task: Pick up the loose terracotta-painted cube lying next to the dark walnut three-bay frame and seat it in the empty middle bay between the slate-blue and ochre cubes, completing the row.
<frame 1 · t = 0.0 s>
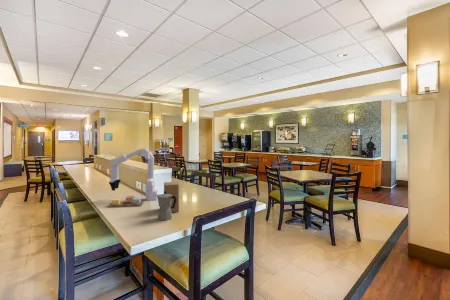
hand: (115, 189, 184), 10 cm above the table, fingers open, 7 cm apart
wooden block: (171, 210, 162), on the table
ochre cube: (116, 205, 171), point 1 cm above the table, touching frame
terracotta cube: (130, 202, 181), on the table
coffeepot: (166, 218, 146), on the table
frame: (126, 206, 172), on the table
slate cube: (136, 204, 173), point 1 cm above the table, touching frame
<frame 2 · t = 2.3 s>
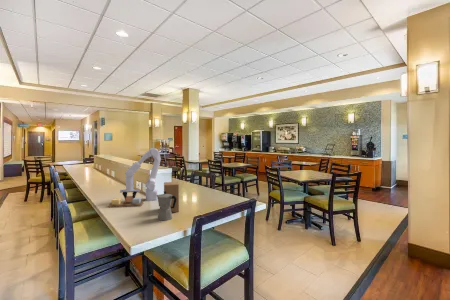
hand: (130, 201, 181), 1 cm above the table, fingers closed on terracotta cube, 5 cm apart
terracotta cube: (130, 202, 181), on the table, touching gripper
everything else where it was.
when the fingers open (3 cm above the table, at t = 6.1 s): terracotta cube stays where it is, resting on frame.
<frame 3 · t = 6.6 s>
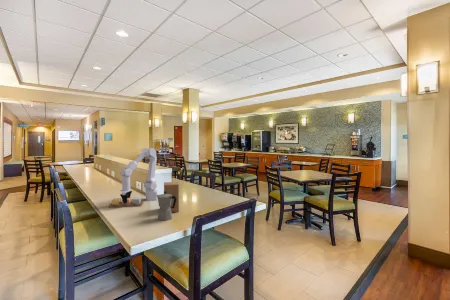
hand: (126, 201, 172), 3 cm above the table, fingers open, 7 cm apart
terracotta cube: (126, 205, 172), point 1 cm above the table, touching frame
everything else where it was.
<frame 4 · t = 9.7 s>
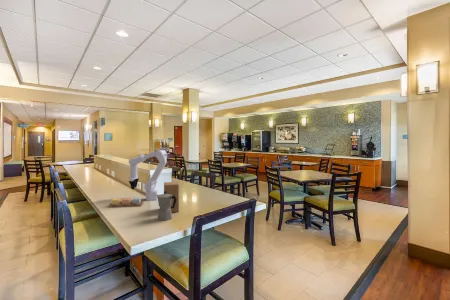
hand: (134, 188, 190), 10 cm above the table, fingers open, 7 cm apart
nothing on the table moved.
at the end: terracotta cube 0.1 cm off-centre on the frame, point 0.8 cm above the frame's base; terracotta cube tilted 0°; the gripper is holding nothing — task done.
